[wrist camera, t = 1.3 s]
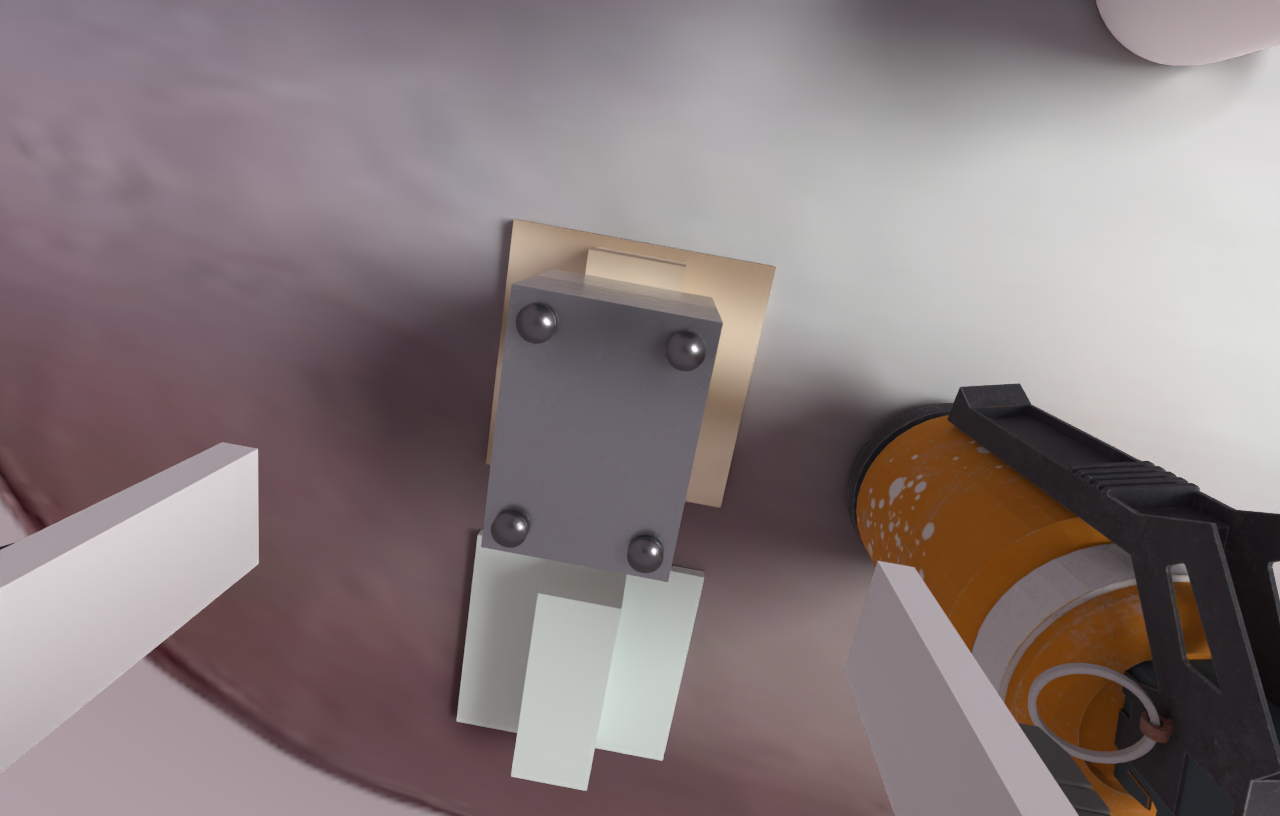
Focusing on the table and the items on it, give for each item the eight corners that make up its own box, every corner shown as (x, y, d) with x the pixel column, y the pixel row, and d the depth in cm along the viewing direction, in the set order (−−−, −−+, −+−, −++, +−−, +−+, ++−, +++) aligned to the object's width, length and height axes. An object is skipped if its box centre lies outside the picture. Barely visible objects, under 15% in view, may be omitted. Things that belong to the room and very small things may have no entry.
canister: (842, 570, 34) (1058, 1032, 14) (845, 361, 31) (1120, 594, 11) (1022, 563, 33) (1501, 1041, 14) (1042, 350, 30) (1691, 576, 11)
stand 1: (516, 219, 30) (492, 218, 26) (773, 266, 30) (788, 272, 26) (489, 459, 33) (463, 491, 29) (720, 502, 33) (724, 539, 29)
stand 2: (481, 529, 34) (455, 568, 30) (704, 571, 34) (707, 615, 30) (459, 713, 38) (434, 769, 34) (662, 752, 37) (660, 812, 34)
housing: (554, 268, 26) (507, 285, 19) (712, 297, 26) (723, 324, 19) (527, 471, 29) (477, 552, 22) (671, 498, 29) (667, 588, 22)
